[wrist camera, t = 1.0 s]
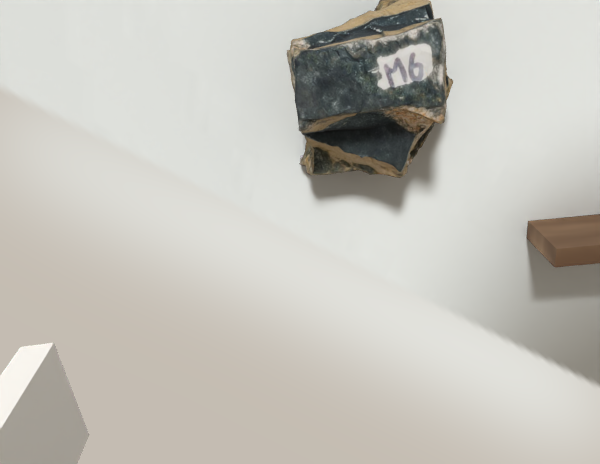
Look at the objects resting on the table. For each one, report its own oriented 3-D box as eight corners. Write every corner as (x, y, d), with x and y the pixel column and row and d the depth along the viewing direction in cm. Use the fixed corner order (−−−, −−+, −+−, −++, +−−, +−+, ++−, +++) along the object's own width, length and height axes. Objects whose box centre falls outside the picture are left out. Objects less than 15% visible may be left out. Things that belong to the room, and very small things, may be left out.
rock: (300, 172, 34) (304, 208, 29) (281, 8, 30) (282, 15, 25) (442, 156, 34) (471, 189, 29) (441, -12, 30) (475, -9, 25)
